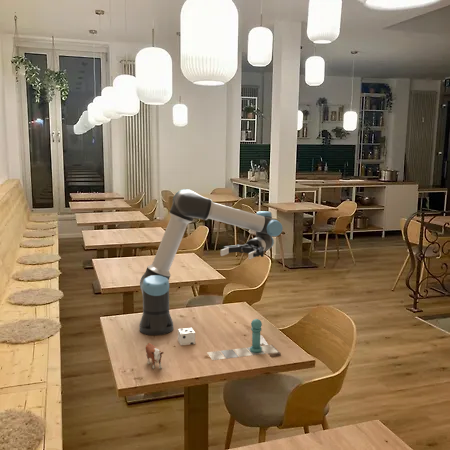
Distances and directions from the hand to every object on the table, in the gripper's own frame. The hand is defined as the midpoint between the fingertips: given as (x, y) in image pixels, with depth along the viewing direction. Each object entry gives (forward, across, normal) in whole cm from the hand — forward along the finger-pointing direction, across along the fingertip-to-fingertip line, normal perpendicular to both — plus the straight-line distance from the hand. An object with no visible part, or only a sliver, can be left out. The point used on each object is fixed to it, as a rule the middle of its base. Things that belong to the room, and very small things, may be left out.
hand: (234, 254), depth 214 cm
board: (+21, -14, -35) cm, 43 cm away
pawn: (+17, -18, -34) cm, 42 cm away
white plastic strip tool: (+7, -16, -36) cm, 39 cm away
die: (+23, +11, -35) cm, 43 cm away
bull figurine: (+46, +10, -35) cm, 59 cm away
